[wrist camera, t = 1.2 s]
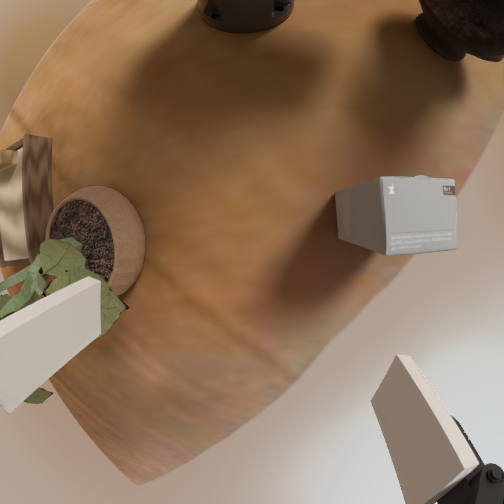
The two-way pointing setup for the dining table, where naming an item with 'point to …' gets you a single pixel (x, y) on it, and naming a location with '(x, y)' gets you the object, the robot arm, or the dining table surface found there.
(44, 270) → the potted plant
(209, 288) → the dining table surface
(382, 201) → the skincare box
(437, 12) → the jug
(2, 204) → the lid
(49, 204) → the box
